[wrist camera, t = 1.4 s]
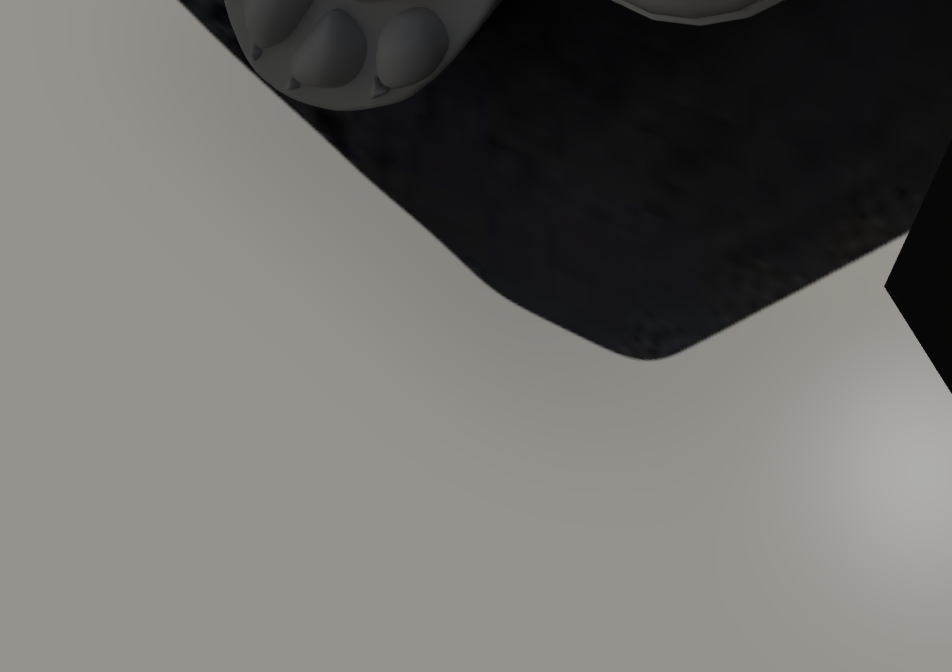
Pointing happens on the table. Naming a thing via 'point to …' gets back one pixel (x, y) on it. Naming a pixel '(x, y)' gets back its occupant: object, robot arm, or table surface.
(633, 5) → the smoothie
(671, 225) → the table surface
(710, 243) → the table surface
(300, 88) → the lumpy-topped squat cylinder
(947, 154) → the robot arm
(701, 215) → the table surface
